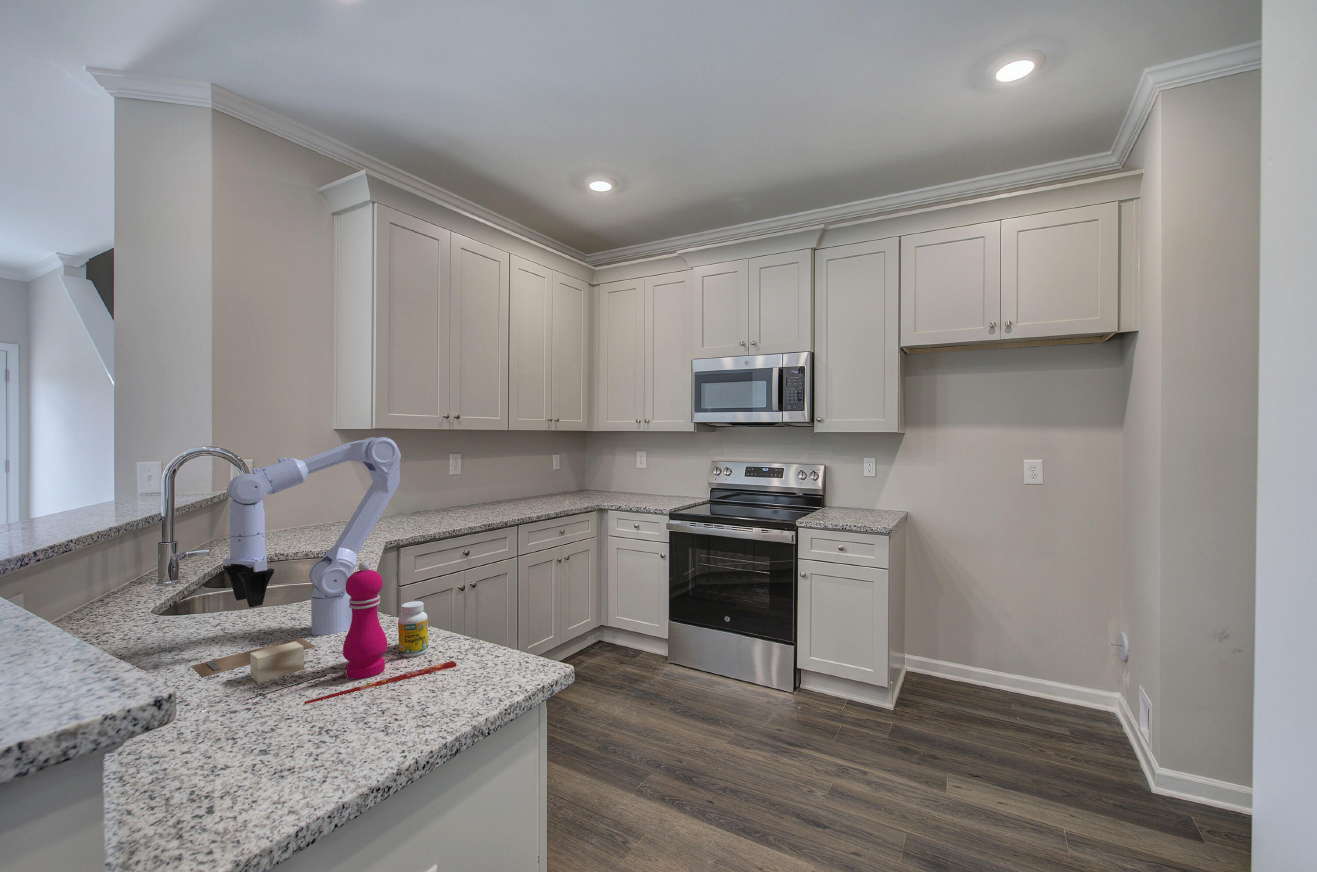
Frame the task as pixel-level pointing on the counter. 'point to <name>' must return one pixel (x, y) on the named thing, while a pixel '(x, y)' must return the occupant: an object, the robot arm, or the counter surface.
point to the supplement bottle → (413, 630)
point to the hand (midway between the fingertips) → (249, 602)
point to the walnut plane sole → (237, 660)
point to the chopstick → (391, 680)
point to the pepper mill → (364, 625)
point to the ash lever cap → (277, 661)
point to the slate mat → (286, 687)
